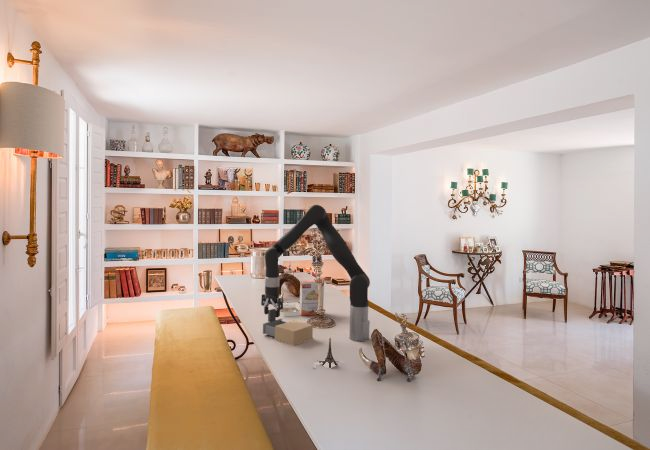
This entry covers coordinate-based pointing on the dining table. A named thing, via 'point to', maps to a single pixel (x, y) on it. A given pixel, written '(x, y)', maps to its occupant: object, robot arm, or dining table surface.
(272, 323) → the tray
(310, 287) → the cracker box
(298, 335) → the mailer sleeve
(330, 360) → the eiffel tower figurine
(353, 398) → the dining table surface
